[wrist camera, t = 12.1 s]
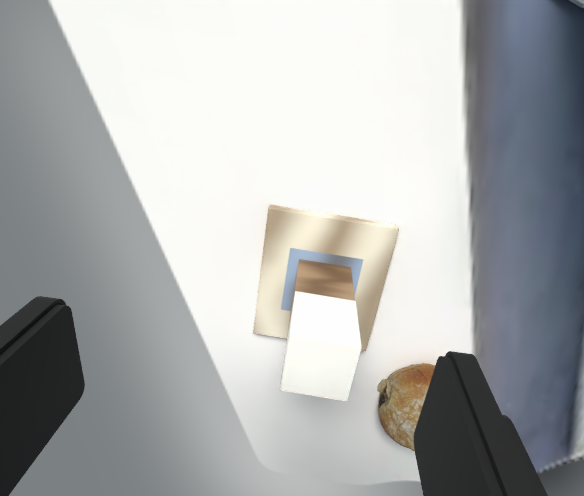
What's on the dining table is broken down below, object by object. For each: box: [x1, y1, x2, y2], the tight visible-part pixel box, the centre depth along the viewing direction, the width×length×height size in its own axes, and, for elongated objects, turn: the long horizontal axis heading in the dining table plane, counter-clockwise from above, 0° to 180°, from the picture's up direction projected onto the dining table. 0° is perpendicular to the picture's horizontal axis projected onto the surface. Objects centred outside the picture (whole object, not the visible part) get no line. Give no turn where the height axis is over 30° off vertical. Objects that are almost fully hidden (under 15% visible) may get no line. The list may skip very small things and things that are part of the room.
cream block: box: [280, 291, 362, 401], centre depth 32 cm, size 5×5×6 cm
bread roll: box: [378, 364, 435, 451], centre depth 44 cm, size 10×10×8 cm
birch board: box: [253, 205, 399, 351], centre depth 40 cm, size 12×14×1 cm
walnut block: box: [287, 259, 355, 336], centre depth 37 cm, size 5×5×6 cm
